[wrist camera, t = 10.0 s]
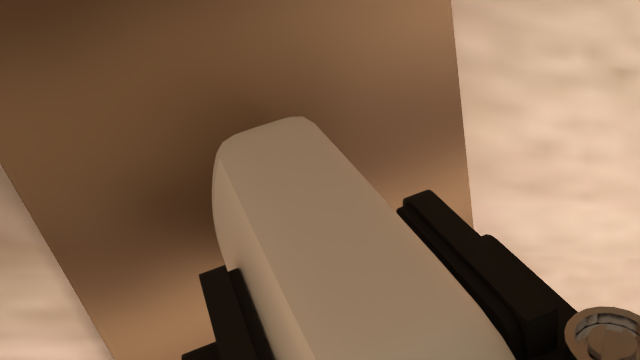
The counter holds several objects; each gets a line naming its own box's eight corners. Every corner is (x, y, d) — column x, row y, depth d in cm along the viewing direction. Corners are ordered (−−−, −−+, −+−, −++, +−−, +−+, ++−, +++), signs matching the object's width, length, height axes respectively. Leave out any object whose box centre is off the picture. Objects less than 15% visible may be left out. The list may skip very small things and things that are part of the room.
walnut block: (-71, -39, 14) (-106, -20, 12) (381, -161, 16) (433, -167, 14) (143, 356, 21) (150, 420, 19) (437, 236, 23) (478, 280, 21)
